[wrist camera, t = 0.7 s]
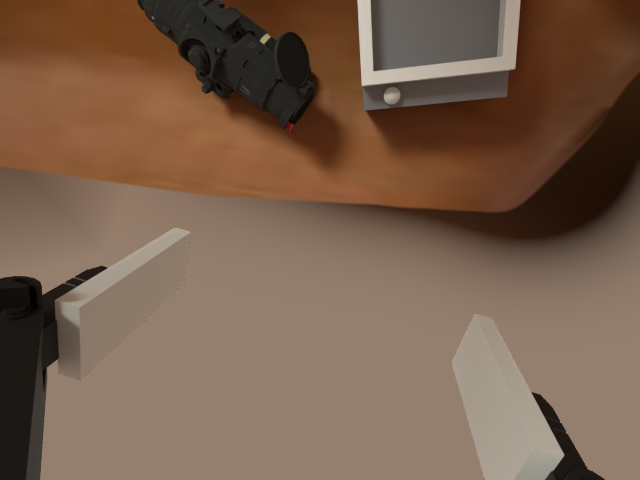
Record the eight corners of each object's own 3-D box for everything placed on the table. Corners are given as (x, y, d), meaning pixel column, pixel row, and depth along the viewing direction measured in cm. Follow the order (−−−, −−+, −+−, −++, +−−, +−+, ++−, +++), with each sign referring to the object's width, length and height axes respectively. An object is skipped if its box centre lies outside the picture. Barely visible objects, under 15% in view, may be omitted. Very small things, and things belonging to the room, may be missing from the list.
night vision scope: (182, 12, 39) (186, -92, 30) (315, 116, 41) (354, 45, 32) (129, 48, 35) (116, -60, 27) (278, 160, 37) (311, 94, 28)
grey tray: (356, -82, 32) (351, -126, 26) (502, -110, 30) (533, -164, 24) (365, 110, 37) (363, 110, 31) (490, 98, 35) (513, 96, 29)
